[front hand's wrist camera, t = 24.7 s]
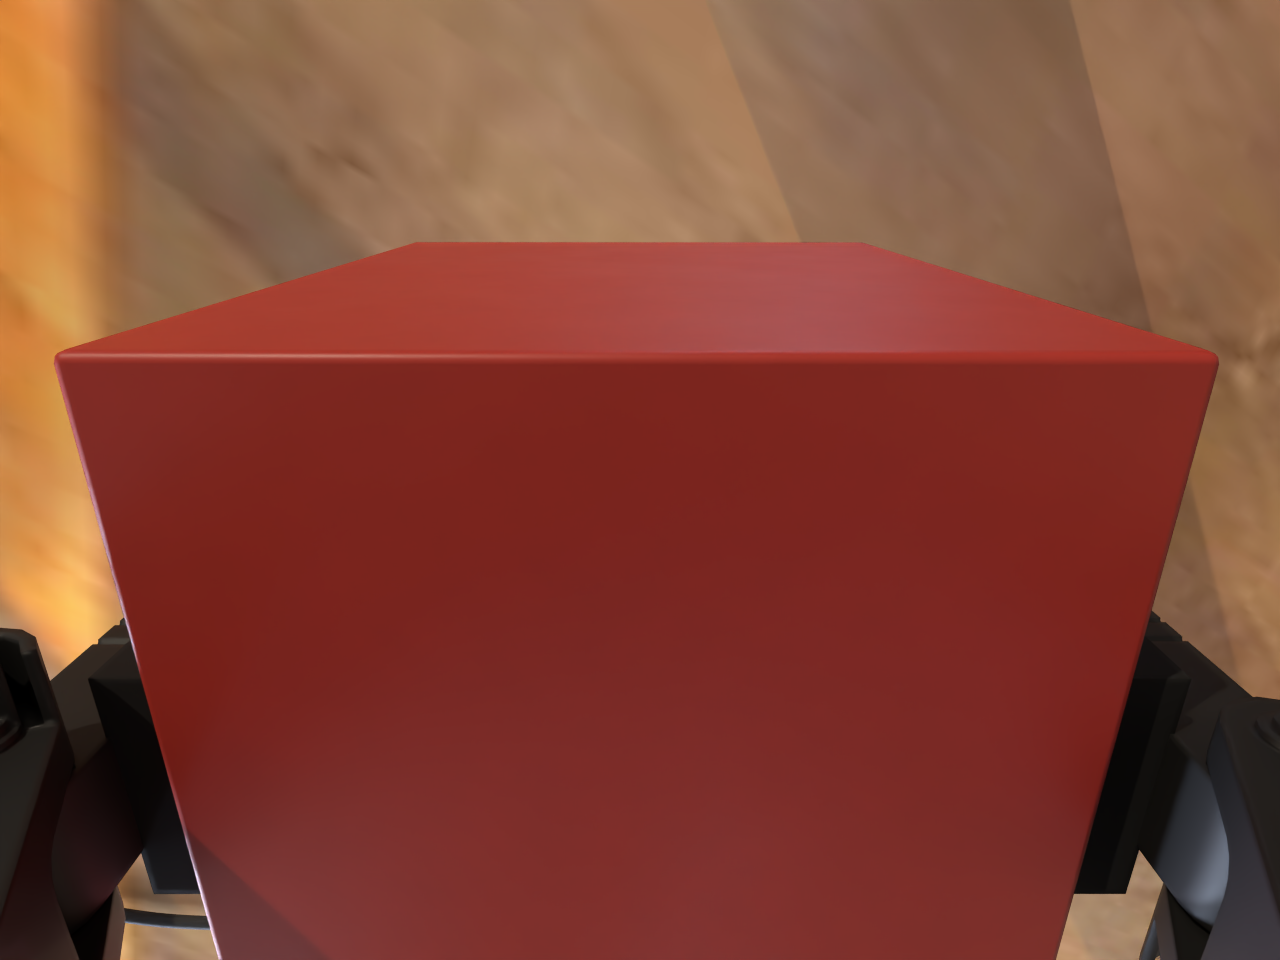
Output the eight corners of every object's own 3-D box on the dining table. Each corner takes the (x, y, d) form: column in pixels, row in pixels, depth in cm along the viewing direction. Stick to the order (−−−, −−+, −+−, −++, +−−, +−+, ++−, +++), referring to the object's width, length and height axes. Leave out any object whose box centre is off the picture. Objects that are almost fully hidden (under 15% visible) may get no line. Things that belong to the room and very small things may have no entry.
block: (865, 242, 15) (1228, 352, 6) (825, 638, 18) (1016, 1118, 9) (412, 241, 15) (44, 352, 6) (452, 637, 18) (257, 1116, 9)
